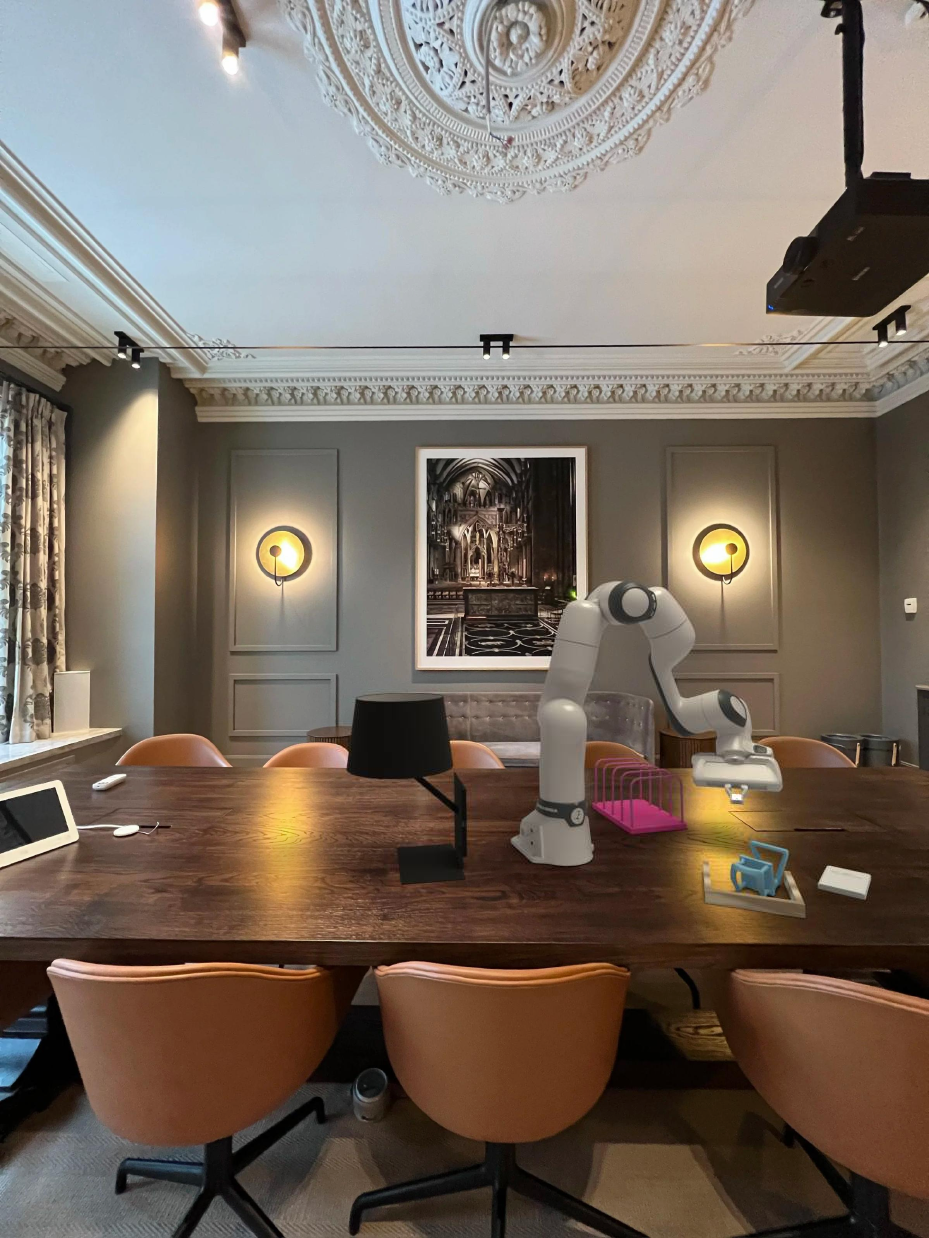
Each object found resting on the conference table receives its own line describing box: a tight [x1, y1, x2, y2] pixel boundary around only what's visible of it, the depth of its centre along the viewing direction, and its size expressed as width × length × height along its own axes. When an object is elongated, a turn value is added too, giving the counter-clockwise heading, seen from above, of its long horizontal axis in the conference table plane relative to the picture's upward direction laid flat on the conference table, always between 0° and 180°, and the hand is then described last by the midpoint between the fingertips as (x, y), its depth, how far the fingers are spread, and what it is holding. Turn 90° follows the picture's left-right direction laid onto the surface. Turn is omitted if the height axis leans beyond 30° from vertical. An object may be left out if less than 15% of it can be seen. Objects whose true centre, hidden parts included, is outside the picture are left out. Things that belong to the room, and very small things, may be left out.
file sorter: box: [591, 757, 688, 835], centre depth 165 cm, size 17×25×16 cm
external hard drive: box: [817, 865, 872, 900], centre depth 119 cm, size 2×8×12 cm
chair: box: [729, 840, 789, 897], centre depth 116 cm, size 8×8×12 cm
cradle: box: [702, 860, 806, 919], centre depth 115 cm, size 16×17×2 cm
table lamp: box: [345, 692, 468, 886], centre depth 133 cm, size 26×28×40 cm
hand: (737, 803), depth 134 cm, fingers closed
